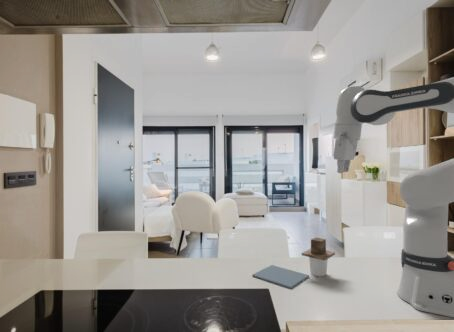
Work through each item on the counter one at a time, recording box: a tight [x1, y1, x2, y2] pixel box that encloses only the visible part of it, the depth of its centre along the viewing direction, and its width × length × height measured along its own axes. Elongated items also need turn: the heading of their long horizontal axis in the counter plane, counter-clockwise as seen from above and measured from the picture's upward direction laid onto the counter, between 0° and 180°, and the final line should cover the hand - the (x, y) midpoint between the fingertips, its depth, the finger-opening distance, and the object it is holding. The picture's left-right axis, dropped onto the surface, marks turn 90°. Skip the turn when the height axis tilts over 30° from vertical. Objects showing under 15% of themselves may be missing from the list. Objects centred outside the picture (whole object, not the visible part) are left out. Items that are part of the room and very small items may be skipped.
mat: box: [252, 264, 310, 289], centre depth 106 cm, size 16×13×1 cm
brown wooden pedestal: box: [301, 237, 336, 260], centre depth 109 cm, size 9×9×6 cm
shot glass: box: [308, 257, 329, 277], centre depth 109 cm, size 7×7×7 cm
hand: (343, 172), depth 104 cm, fingers open, 8 cm apart
